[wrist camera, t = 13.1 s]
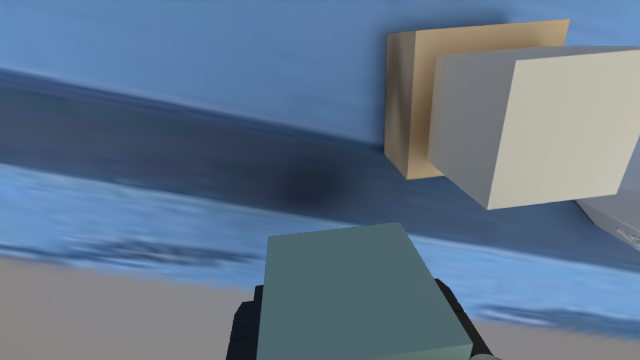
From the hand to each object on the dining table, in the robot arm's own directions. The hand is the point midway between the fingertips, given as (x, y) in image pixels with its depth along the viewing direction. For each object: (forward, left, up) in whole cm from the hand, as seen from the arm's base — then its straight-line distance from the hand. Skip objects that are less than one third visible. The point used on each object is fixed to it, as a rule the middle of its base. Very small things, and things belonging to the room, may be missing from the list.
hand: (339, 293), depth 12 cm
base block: (-6, +8, -9) cm, 13 cm away
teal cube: (0, 0, -1) cm, 1 cm away
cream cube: (-6, +8, -5) cm, 11 cm away
